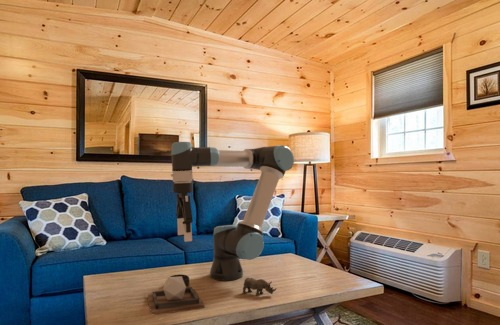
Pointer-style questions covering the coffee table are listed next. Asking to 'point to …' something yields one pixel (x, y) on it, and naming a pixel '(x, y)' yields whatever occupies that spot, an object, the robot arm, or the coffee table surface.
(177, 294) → the die
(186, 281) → the smart speaker
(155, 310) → the board
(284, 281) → the coffee table surface
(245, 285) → the rhino figurine
